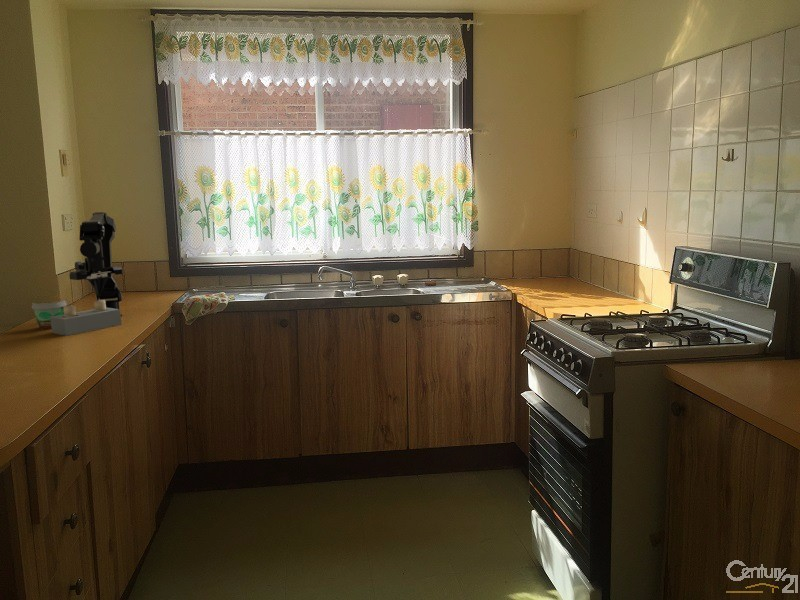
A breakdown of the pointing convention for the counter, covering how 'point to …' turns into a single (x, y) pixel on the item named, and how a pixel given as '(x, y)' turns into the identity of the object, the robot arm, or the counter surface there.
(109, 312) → the grey peg board
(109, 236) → the robot arm
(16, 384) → the counter surface
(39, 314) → the food container
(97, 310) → the birch peg
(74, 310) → the birch peg
